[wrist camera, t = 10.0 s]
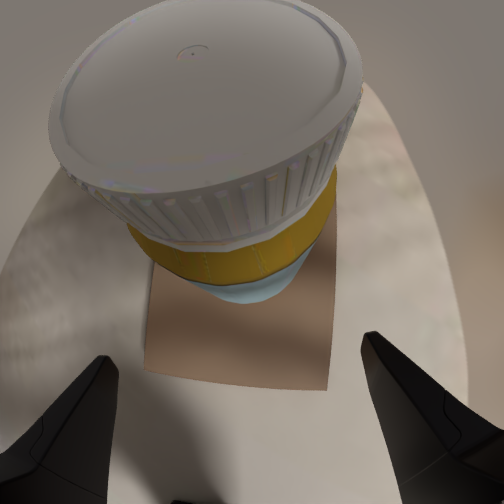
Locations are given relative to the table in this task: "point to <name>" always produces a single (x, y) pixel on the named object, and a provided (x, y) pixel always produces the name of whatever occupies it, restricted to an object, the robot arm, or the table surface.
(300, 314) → the brown rectangular board
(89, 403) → the robot arm
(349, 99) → the bottle
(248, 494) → the table surface
